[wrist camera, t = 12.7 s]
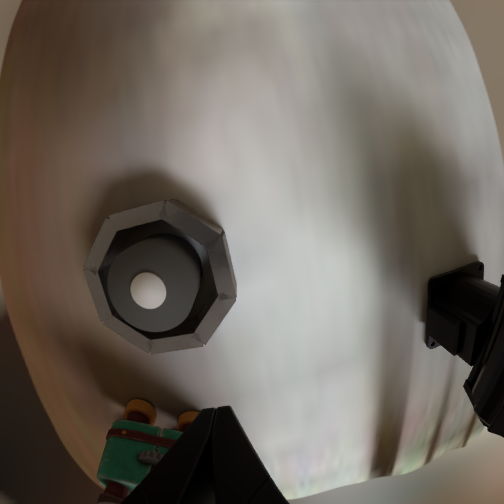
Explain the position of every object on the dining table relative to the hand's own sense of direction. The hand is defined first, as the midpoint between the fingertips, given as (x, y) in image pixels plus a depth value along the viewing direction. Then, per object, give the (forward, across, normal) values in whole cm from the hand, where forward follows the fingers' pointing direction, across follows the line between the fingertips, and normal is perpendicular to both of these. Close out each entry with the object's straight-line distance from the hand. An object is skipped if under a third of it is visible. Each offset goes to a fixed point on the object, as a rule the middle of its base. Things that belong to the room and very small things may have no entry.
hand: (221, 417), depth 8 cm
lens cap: (+12, +4, -2) cm, 13 cm away
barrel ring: (+12, +4, -2) cm, 13 cm away
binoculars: (+12, +9, +13) cm, 20 cm away
